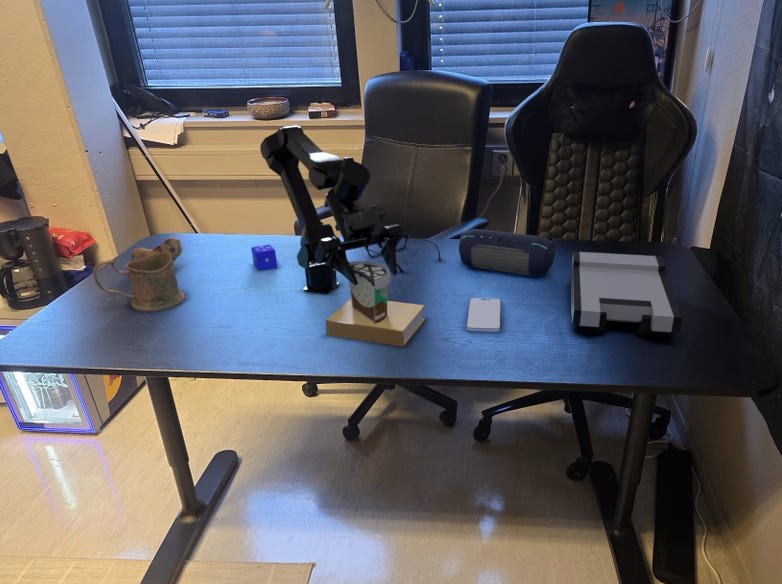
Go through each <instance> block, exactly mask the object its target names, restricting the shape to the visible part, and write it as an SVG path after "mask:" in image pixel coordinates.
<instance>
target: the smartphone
mask: <svg viewBox="0 0 782 584" xmlns="http://www.w3.org/2000/svg"><path fill="white" fill-rule="evenodd" d="M467 307H468V309H467V317H466V324H465V327H466V328H465V329H466V331H469V332H485V333H486V332H487V333H488V332H489V333H490V332H491V333H492V332H493V333H498V332H500V331H501V317H502V299H500V298H489V297H471V298H470V299H469V300H468V306H467Z"/></svg>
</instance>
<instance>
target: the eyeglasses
mask: <svg viewBox="0 0 782 584" xmlns="http://www.w3.org/2000/svg"><path fill="white" fill-rule="evenodd" d="M403 237H404V239H405V242H404V245H403V246H402V247H401V248H398V249H397V248H396V251H400V250H402V249H404V248H406V245H407V243H408V239H409V238H412V239H416V240H420V241H424V242H428V243H431V244H433V245H434V246H435V248H436V249H437V254H438V261H439V262H441V261H442V258H441V252H440V249H439V248H438V246H437V244H435V243H434V242H432V241H430V240H427V239H423V238H419V237H416V236H412V235H409V234H405V235H404V236H403ZM364 250H366V252H367V254H368V256H369V257H370V258H376V257H379V256H382V254H381V253H379V252H376V251H375V250H373V249H370V248H369V246H365V247H364ZM370 252H372V253H374V254H376V255H371V253H370ZM396 264H397V269H398V270H399V272H400V273H402V274H403V273H405V271H404V269H402V267H401V266H400V264H398V262H396Z"/></svg>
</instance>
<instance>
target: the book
mask: <svg viewBox="0 0 782 584" xmlns="http://www.w3.org/2000/svg"><path fill="white" fill-rule="evenodd" d="M424 308H425V304H417V303H408V302H403V301H402V302H401V301H394V300H387V316H386V318H385V319H384V320H382V321H380V322H378V323H373V322H372V321H370V320H369V319H367V318H366V317H364V316H363V315H361V314H360V313H359V312H357V311H356V310H354V309H353V308H352V301H351V297H350V298H349V299H347V301H345V302H344V303H343V304H342V305H341V306H340V307H339V308H338V309H336V310H335V311H334V312H333V313H332V314H331V315H329V316H328V317H327V318H326V319H325V330H326V336H328V337H333V338H341V339H347V340H353V341H361V342H367V343H373V344H380V345H386V346H393V347H400V348H401V347H402V348H404V347H405V346H406V344H407V343H408V342H409V340H411V338H412V337H413V335H414V334H415V333H416V332H417V330H419V328H420V327H421V325H423V323H424V322H425V320H426V319H425V318H424Z"/></svg>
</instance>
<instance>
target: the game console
mask: <svg viewBox="0 0 782 584" xmlns="http://www.w3.org/2000/svg"><path fill="white" fill-rule="evenodd" d="M571 261H572V262H571V282H570V303H571V304H570V315H571V320H572V321H571V322H572V326H573V329H574V332H582V333H583V332H584V333H598V334H604V331H606V326H607V321H608V322H620V323H635V327H636V331H637V336H638V337H651V338H665V339H668V338H669V336H672V333H674V334H675V333H678V334H679V333H680V331H681V326H682V321H683V315H682V313H681V311H680V308H679V305H678V302H677V299H676V297H675V295H674V292H673V289H672V286H671V284H670V281H669V277H668V276H667V273H666V269H667V268H666V267H667V266H666V263H665V260H664V258H663V256H659V255H643V254H641V255H640V254H624V253H606V252H590V251H589V252H587V251H572V260H571Z"/></svg>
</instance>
